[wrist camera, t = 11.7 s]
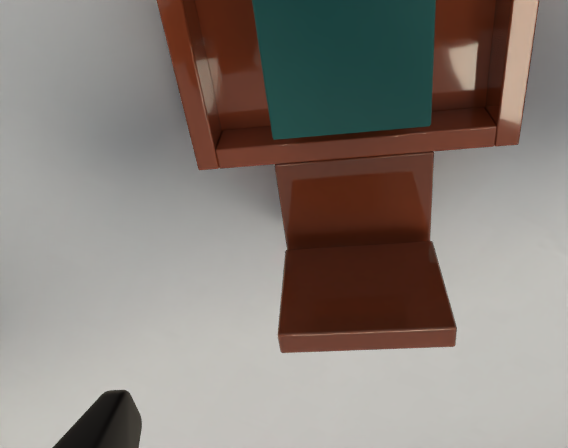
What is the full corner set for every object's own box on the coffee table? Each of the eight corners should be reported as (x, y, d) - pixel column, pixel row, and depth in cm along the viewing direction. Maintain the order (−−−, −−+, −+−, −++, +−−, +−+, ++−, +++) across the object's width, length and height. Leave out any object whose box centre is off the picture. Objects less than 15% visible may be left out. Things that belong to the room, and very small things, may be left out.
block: (282, 84, 17) (272, 141, 14) (264, -55, 15) (247, -28, 11) (409, 72, 16) (431, 127, 13) (411, -75, 14) (438, -52, 11)
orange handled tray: (229, 229, 21) (197, 357, 16) (127, -220, 13) (-5, -268, 8) (488, 212, 20) (548, 344, 15) (548, -293, 12) (729, -410, 7)
